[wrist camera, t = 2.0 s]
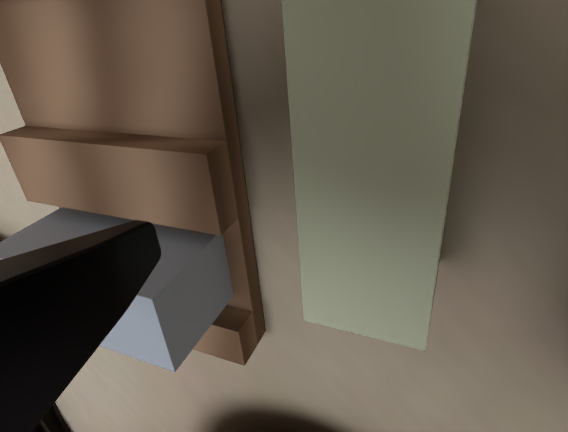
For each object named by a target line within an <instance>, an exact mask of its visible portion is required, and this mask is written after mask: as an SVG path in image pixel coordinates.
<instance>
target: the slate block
mask: <svg viewBox="0 0 568 432" xmlns="http://www.w3.org/2000/svg"><path fill="white" fill-rule="evenodd" d="M130 221H134V220H131V219H126V218H120V217H115V216H109V215H104V214H98V213H93V212H87V211H81V210H76V209H70V208H65V207H62V208H60V209H58V210H56V211H55V212H53V213H51V214H49V215H47V216H46V217H44V218H42V219H40V220H38V221H37V222H35V223H33V224H31V225H30V226H28V227H26V228H24V229H22V230H21V231H19V232H17V233H15V234H14V235H12V236H10V237H8V238H6V239H5V240H3V241H1V242H0V260H1V259H5V258H8V257H12V256H15V255H18V254H22V253H25V252H29V251H32V250H35V249H39V248H42V247H45V246H49V245H52V244H56V243H59V242H62V241H66V240H69V239H73V238H76V237H79V236H83V235H86V234H90V233H93V232H96V231H100V230H103V229H106V228H110V227H113V226H117V225H120V224H123V223H127V222H130ZM152 224H153V223H152ZM153 225H154V226H155V229H156V233H157V236H158V240H159V244H160V247H161V258H160V260H159V262H158V264H157V265H156V267H155V268H154V270H153V271H152V273H151V274H150V276H149V277H148V279H147V280H146V282H145V283H144V285H143V287H142V288H141V290H140V291H139V293H138V294H137V296H136V297H135V299H134V300H133V302H132V303H131V305H130V306H129V308H128V309H127V311H126V312H125V313H124V315H123V316H122V317H121V319H120V320H119V321H118V322H117V324H116V325H115V326H114V328H113V329H112V330H111V331H110V333H109V334H108V335H107V336H106V338H105V339H104V340H103V341H102V343H101V344H100V345H99V346H101V347H104V348H107V349H110V350H113V351H116V352H119V353H121V354H124V355H127V356H130V357H133V358H136V359H139V360H141V361H144V362H147V363H150V364H153V365H156V366H159V367H162V368H164V369H167V370H170V371H173V372H175V371H176V370H177V369H178V367H179V366H180V365H181V364H182V362H183V361H184V360H185V358H186V357H187V356H188V354H189V353H190V352H191V351H192V349H193V348H194V347H195V345H196V344H197V343H198V341H199V340H200V339H201V337H202V336H203V335H204V334H205V332H206V331H207V330H208V328H209V327H210V326H211V324H212V323H213V322H214V321H215V319H216V318H217V317H218V315H219V314H220V313H221V311H222V310H223V309H224V308H225V306H226V305H227V304H228V302H229V301H230V300H231V298H232V297H233V296H234V295H233V289H232V284H231V278H230V273H229V267H228V261H227V256H226V250H225V245H224V239H223V234H222V235H221V236H220V235H214V234H209V233H203V232H198V231H192V230H187V229H181V228H175V227H170V226H164V225H159V224H153Z"/></svg>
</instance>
